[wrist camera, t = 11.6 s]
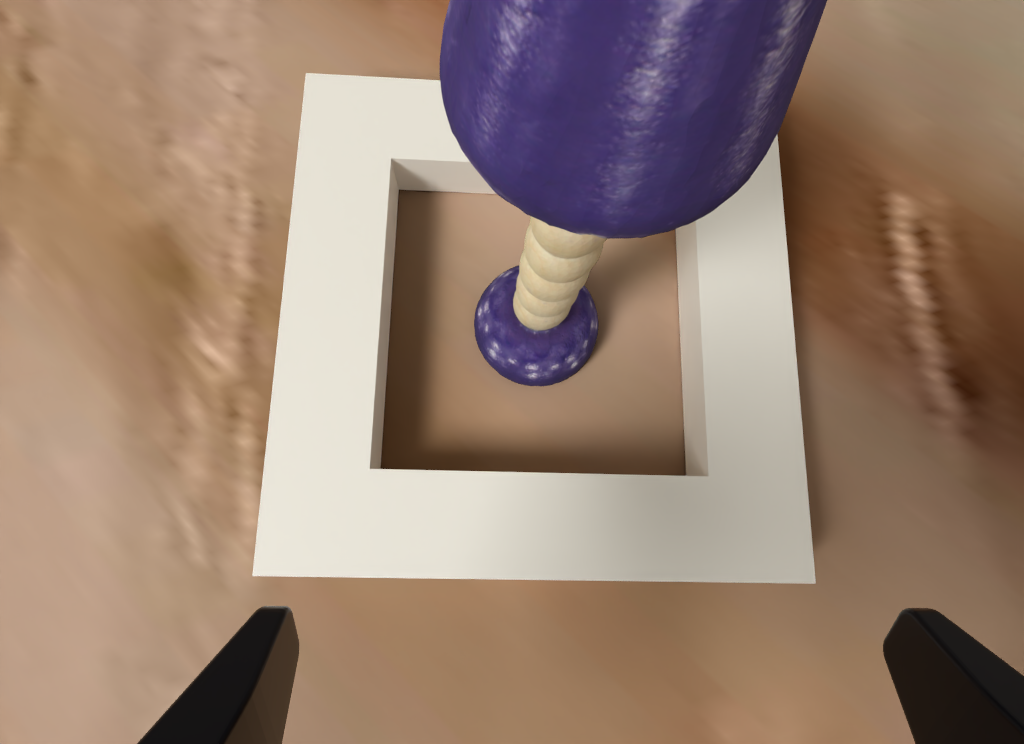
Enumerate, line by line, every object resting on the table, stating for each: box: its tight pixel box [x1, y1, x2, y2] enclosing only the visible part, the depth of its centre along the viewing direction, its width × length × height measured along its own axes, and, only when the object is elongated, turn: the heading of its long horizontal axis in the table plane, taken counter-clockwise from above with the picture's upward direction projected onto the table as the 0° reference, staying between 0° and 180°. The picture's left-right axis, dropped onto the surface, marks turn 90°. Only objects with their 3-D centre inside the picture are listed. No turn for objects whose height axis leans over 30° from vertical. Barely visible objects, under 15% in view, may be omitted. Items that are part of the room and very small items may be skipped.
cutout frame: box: [252, 73, 816, 584], centre depth 20 cm, size 16×16×2 cm
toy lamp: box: [440, 0, 827, 386], centre depth 13 cm, size 5×5×17 cm
